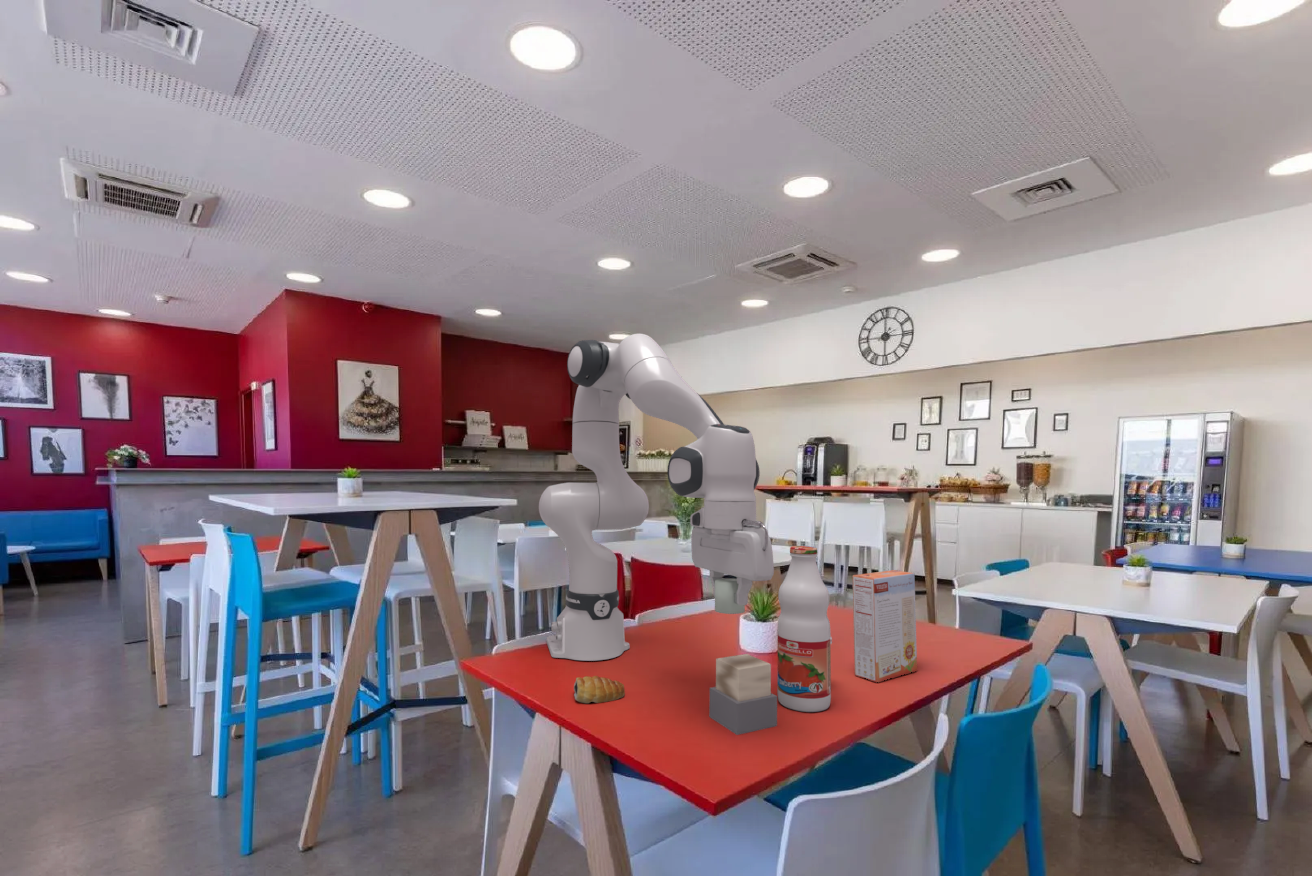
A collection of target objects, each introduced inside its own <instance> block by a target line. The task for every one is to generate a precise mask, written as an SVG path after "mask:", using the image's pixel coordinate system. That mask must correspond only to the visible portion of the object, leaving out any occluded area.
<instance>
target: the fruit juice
mask: <svg viewBox="0 0 1312 876" xmlns="http://www.w3.org/2000/svg"><path fill="white" fill-rule="evenodd" d="M789 553H790V554H789V556H790V557H791V561H790V564H789V567H788V569H787V573H786V575H785V578H784V579H783V581H782V583H781V585H780V586H779V589H778V598H777V599H778V602H779V606H780V614H779V616H778V620H777V629H776V630H777V633H776V634H777V688H776V689H777V701H778V703H779V704H780V705H782V706H783V707H784V708H788V709H789V710H793V711H798V712H802V713H803V712H806V713H816V712H822V711H826V710H828V708H829V707H830V705H831V702H832V701H831V700H832V691H831V689H832V685H831V684H832V677H831V676H832V673H831V669H832V668H831V667H832V666H831V656H832V655H831V649H832V648H831V646H832V645H831V644H830V640H831V637H832V636H831V635H832V634H831V624H830V619H829V617H828V610H829V609H828V608H829V606H830V593H829V590H828V588H827V586H826V585H825V583H824V581H823V579H822V576H821V573H820V570H819V568H818V564H817V561H816V560H817V557H818V548H817V547H815V546H810V545H809V546H808V545H792V546H789Z"/></svg>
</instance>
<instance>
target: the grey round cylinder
mask: <svg viewBox="0 0 1312 876" xmlns="http://www.w3.org/2000/svg"><path fill="white" fill-rule="evenodd" d="M738 586H739V584H737V578H730V577H729V578H724V577H723V578H722V579H716V580H715V597H714V612H716V613H719V614H726V615H736V614H737V615H738V614H740V615H741V614H743V613H745V611H746V610H745V607H746V606H745V605H738V604H735V603H734V593H737V590H738Z"/></svg>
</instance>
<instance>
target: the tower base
mask: <svg viewBox="0 0 1312 876" xmlns="http://www.w3.org/2000/svg"><path fill="white" fill-rule="evenodd" d="M708 703H709V704H708V705H709V707H708V708H709V709H708V710H709V712H708V713H709V714H708V715H709V718H710V719H712V720H714V721H715V722H716V723H717V724H719V725H721V726H722V727H725V728H726V729H727V730H729V732H731V733H733V734H734V735H736V736H738V735H743V734H748V733H751V732H757V731H761V730H765V729H770V728H775V727H778V695H775V694H773V693H772V692H771V695H769V696H764V697H759V698H754V699H749V700H744V701H737V700H735V699H734V698H732V697H730V696H728V695H726V694H724V693H723V692H721V691H719V690H717V689H716V686H713V687H709V702H708Z"/></svg>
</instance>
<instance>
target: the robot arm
mask: <svg viewBox="0 0 1312 876" xmlns="http://www.w3.org/2000/svg"><path fill="white" fill-rule="evenodd" d="M566 363H567V364H566V366H567V367H566V368H567V373H568V375H569V378H570V379H571V381H572V382H573V383H575V384H576V385H578V387H577V389H576V392H575V398H574V405H573V410H572V411H573V412H572V432H571V433H572V435H571V437H572V440H571V441H572V442H571V445H572V446H571V452H572V456H573V459H574V460H575V461H576V462H577V463H578V464H580V465H582V467H585V468H587V469H589V470H591V471H592V472H593V473H594V475H595V476H596V481H597V482H564V483H563V482H562V483H558V484H553V485H552V484H551V485H548V486H547V487H546V488H545V490H543V492H542V493H541V496H540V498H539V502H538V513H539V516H540V518H541V520H542V522H543V523H544V524H545V525H546V526H547V527H548V528H549V529H551V530H552V531H553V532H554V534H556V535H557V536H558V537H559V539H560V541H561V543H562V544H563V545H564V548H565V551H566V553H567V560H568V579H569V581H568V583H569V584H568V590H567V592H566V595H565V608H564V609H563V610H561V613H560V614H559V615H558V616H557V617H556V621H551V626H550V629H551V632H552V633H555V634H552V635H549V636H546V644H547V647H548V650H549V654H550V656H551V657H552V658H555V659H556V658H557V659H558V658H559V659H569V660H574V661H586V662H587V661H589V662H590V661H591V662H592V661H593V662H594V661H595V662H596V661H603V660H609V659H614V658H616V657H619V656H621V655H622V654H623V653H624V651H627V650H629V649H630V648H631V647H630V643H629V642H627V641H626V640H625V622H624V620H625V619H624V613H623V612H622V611H621V610H620V609H619V608H618V606H619V600H620V595H619V590H618V558H617V556H616V554H615V553H614V552H613V551H612V550H611V549H610V548H608V547H607V546H605V545H603V544H601V543H598V542H597V541H595V540H594V538H593V531H596V530H597V531H598V530H600V531H603V530H604V531H605V530H607V531H608V530H613V531H615V530H625V529H631V528H634V527H635V528H636V527H639V526H641V525H642V524H643V523H644V521H645V520H646V518H647V517H648V514H649V511H650V502H649V498H648V495H647V494H646V492H645V490H644V489H643V488H642V487H641V486H640V485H638V484H637V482H635V481H634V480H633V479H632V478H631V476H630V475H629V474H628V472H627V471H626V469H625V466H624V464H623V460H622V457H621V450H620V414H619V413H620V412H619V411H620V410H619V408H620V402H621V400H622V398H623V397H624V396H625V397H627V398H628V399H629V400H631V402H632V403H633V405H635V407H636V408H637V409H638V410H639V411H641V412H642V413H643V414H645V415H647V416H650V417H652V418H656V419H658V420H662V421H667V422H668V423H669V422H671V423H673V424H675V425H677V426H681V427H683V428H685V429H686V430H688V431H690V433H692V434H693V435H694V436H695V438H696V440H695V441H693V442H690V443H689V444H687V445H685V446H680V447H678V448H677V449H676V450H675V451H674V452H673V453H672V454H671V456H670V458H669V460H668V464H667V469H666V470H667V471H666V472H667V480H668V484H669V485H670V487H671V489H672V490H673V491H674V493H676V494H677V495H678V496H680V497H685V498H689V499H690V498H692V499H693V498H694V499H696V498H697V499H698V498H699V499H700V498H701V499H704V500H703V501H704V502H703V507H701V508H700V509H699V510H697V511H695V512H694V513H692V514H690V516H689V517H690V518H689V519H690V520H689V521H690V526H691V527H693V528H692V531H691V540H690V541H691V542H690V543H691V560H692V563H693V565H694V567H695V568H700V569H704V570H707V571H709V578H710V581H711V584H712V588H713V594H712V595H713V597H714V598H715V580H716V579H723V578H724V575H728V576H732V577H736V579H737V584H739V586H738V590H737V593H734V603H735V604H738V605H748V603H749V602H748V601H749V597H748V596H749V593H750V590H751V588H752V585H753V582H764V581H766V582H767V581H771V579H772V578H773V576H774V573H775V565H774V553H773V546H772V545H773V544H772V541H771V537H770V535H769V530H768V528H766V526H765V525H764V523H763V522H762V521H760V520H757V497H756V494H755V489H756V488H757V486H758V484H759V481H760V474H761V472H760V467H759V466H760V465H759V462H758V460H757V458H756V457H757V455H756V445H755V441H754V437H753V434H752V432H751V430H750V429H748V428H747V427H745V426H741V425H730V424H725V423H724V422H723V420H721V418H720V417H719V416H718V414H717V413H716V412H715V410H714V408H712V407H711V405H710V404H709V402H707V401H706V400H705V398H703V397H702V396H701V395H700V394H699V393H698V392H696V391H695V390H694V389H693V388H692V387H691V386H690V385H689V384H688V383H687V382H686V381H685V379H683V376H681V375H680V374H679V372H678V371H677V369H676V368H675V366H674V365H673V363H672V361H671V360H670V358H669V356H668V355H667V354H666V352H665V351H664V350H663V348H662V347H661V346H660V345H659V344H658V342H657V341H656V340H654V338H652V336H649V335H648V334H644V333H633V334H630V335H627V336H626V337H624V338H623V339H622V340H621V341H620V342H610V341H609V342H608V341H599V340H596V339H584V340H578V341H577V342H576V343H575V344H574V345H573V346H572V347H571V348H570V350H569V353H568V355H567V361H566Z"/></svg>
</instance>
